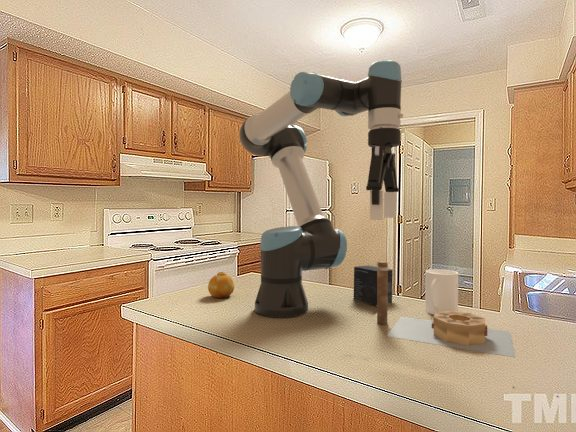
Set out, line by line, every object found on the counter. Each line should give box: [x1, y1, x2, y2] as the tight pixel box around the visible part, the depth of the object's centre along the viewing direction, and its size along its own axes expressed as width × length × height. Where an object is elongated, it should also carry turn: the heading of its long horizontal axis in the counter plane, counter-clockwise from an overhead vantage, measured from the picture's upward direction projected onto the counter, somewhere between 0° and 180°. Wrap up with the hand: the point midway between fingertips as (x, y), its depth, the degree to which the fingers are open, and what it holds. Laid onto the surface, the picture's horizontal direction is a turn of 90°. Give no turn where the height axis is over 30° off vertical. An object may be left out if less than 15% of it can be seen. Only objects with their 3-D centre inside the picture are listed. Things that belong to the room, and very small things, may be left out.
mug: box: [424, 268, 459, 316], centre depth 98 cm, size 12×8×12 cm
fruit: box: [207, 271, 235, 299], centre depth 121 cm, size 8×8×8 cm
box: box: [352, 264, 393, 307], centre depth 115 cm, size 11×7×10 cm, turn 34°
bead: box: [432, 310, 488, 345], centre depth 81 cm, size 11×10×4 cm
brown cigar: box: [376, 261, 389, 326], centre depth 90 cm, size 2×2×16 cm
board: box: [386, 316, 516, 358], centre depth 83 cm, size 24×16×1 cm, turn 62°
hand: (383, 218), depth 89 cm, fingers open, 13 cm apart
